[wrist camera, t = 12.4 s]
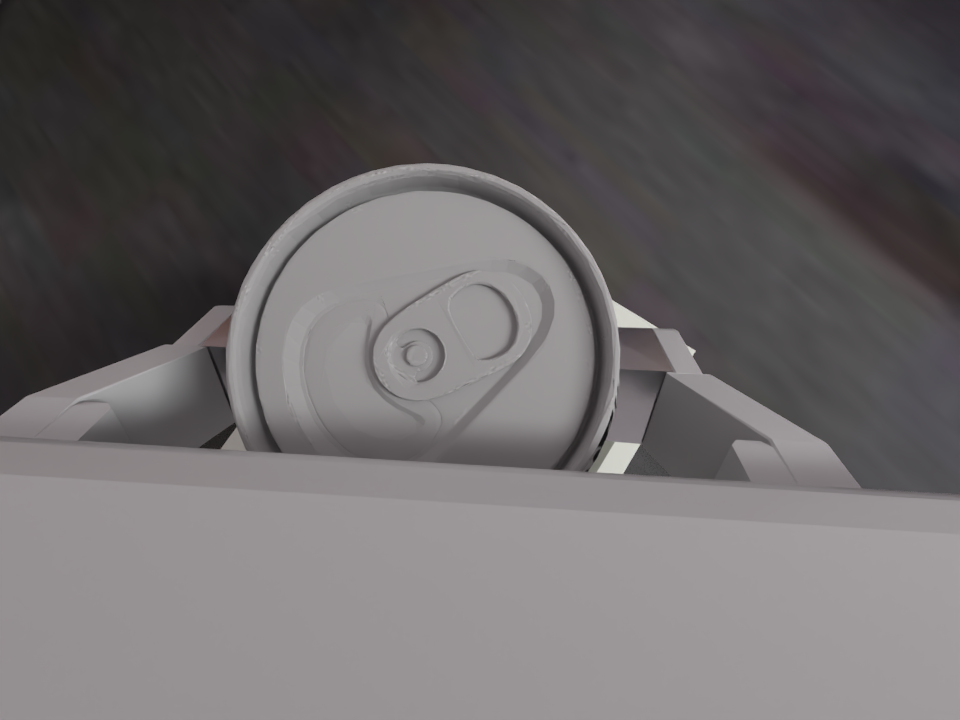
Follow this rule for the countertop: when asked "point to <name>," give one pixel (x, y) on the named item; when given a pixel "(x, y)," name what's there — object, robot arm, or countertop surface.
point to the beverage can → (425, 328)
